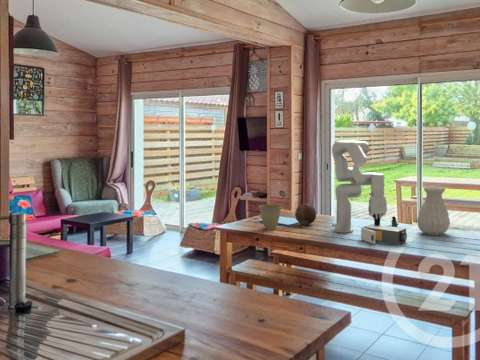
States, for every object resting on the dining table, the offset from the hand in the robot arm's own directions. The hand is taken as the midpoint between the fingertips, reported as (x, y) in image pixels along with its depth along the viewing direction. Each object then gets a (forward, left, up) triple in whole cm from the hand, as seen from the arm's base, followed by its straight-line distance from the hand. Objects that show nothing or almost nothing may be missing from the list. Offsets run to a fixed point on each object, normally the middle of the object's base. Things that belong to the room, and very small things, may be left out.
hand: (377, 225), depth 289 cm
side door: (-6, -1, -10) cm, 12 cm away
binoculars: (-7, +32, -11) cm, 35 cm away
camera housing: (+1, +9, -11) cm, 14 cm away
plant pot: (-74, -10, -11) cm, 75 cm away
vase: (+14, +49, -11) cm, 52 cm away
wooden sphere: (-65, +19, -11) cm, 69 cm away
